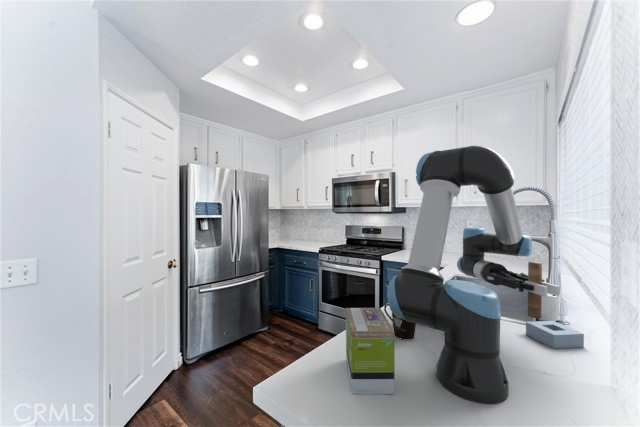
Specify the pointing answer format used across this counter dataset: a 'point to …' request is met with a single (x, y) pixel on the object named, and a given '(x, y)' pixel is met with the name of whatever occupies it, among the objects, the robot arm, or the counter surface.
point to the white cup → (550, 308)
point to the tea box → (370, 351)
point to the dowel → (533, 298)
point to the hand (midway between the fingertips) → (552, 291)
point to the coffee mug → (402, 326)
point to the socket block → (555, 334)
